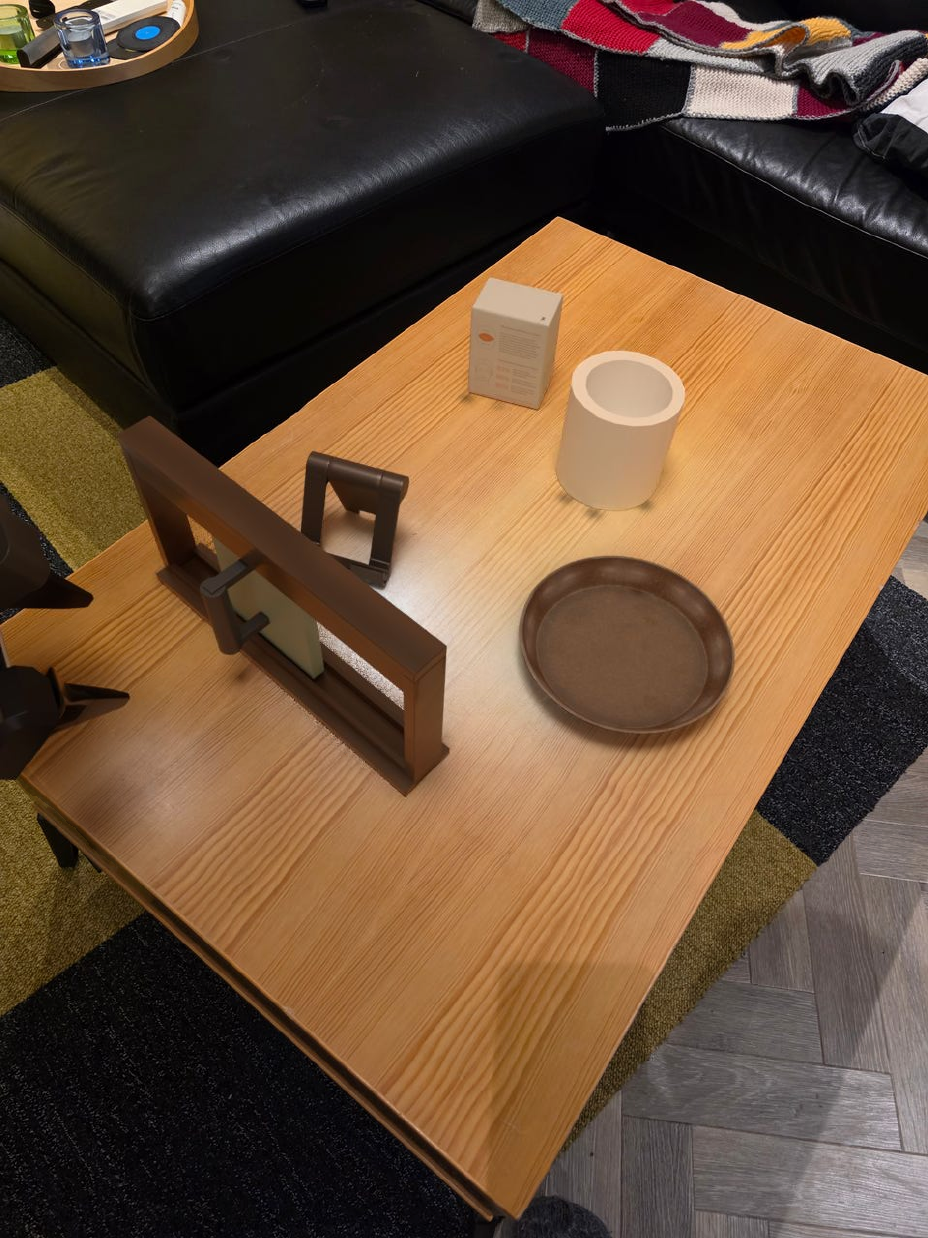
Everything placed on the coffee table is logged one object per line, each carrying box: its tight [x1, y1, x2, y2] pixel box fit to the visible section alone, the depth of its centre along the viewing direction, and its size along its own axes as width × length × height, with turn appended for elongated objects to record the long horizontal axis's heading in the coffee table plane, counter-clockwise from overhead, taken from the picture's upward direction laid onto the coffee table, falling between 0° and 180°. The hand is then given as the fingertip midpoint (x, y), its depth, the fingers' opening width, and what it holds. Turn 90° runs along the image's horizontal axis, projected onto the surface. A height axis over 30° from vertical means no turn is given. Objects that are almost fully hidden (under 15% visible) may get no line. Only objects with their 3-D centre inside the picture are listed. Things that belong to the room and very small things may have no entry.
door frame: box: [116, 415, 451, 797], centre depth 66 cm, size 5×30×16 cm, turn 48°
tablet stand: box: [300, 450, 410, 587], centre depth 77 cm, size 9×8×8 cm
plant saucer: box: [518, 555, 736, 735], centre depth 73 cm, size 18×18×3 cm
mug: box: [555, 350, 686, 512], centre depth 83 cm, size 14×10×11 cm
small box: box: [467, 276, 564, 410], centre depth 89 cm, size 8×6×10 cm
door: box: [200, 534, 324, 679], centre depth 66 cm, size 6×10×12 cm, turn 48°
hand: (108, 648), depth 61 cm, fingers open, 9 cm apart
